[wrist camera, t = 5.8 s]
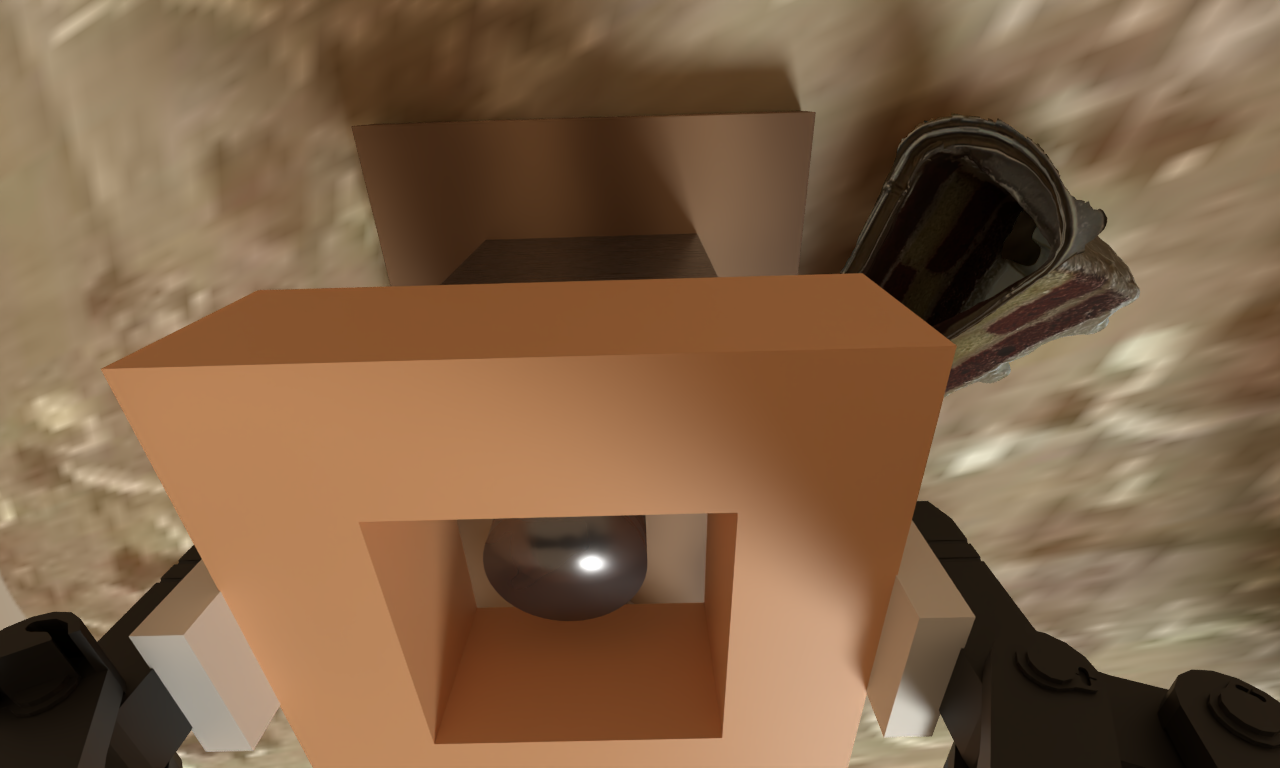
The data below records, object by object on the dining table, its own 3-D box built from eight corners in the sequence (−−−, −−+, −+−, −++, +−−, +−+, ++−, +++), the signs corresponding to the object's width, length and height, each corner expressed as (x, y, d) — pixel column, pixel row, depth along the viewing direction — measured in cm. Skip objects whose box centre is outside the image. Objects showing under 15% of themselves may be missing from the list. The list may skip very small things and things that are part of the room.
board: (802, 111, 18) (815, 112, 17) (743, 709, 33) (747, 735, 31) (372, 124, 18) (351, 126, 17) (508, 716, 33) (503, 743, 31)
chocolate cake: (895, 456, 25) (1276, 417, 15) (771, 442, 22) (1135, 380, 12) (880, 264, 27) (1201, 111, 17) (766, 229, 24) (1067, 16, 14)
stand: (697, 233, 18) (772, 391, 8) (693, 414, 21) (744, 680, 12) (485, 240, 18) (317, 405, 8) (513, 420, 21) (416, 690, 12)
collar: (862, 273, 9) (956, 346, 6) (798, 668, 14) (837, 806, 11) (257, 290, 9) (99, 369, 6) (397, 677, 14) (338, 817, 11)
